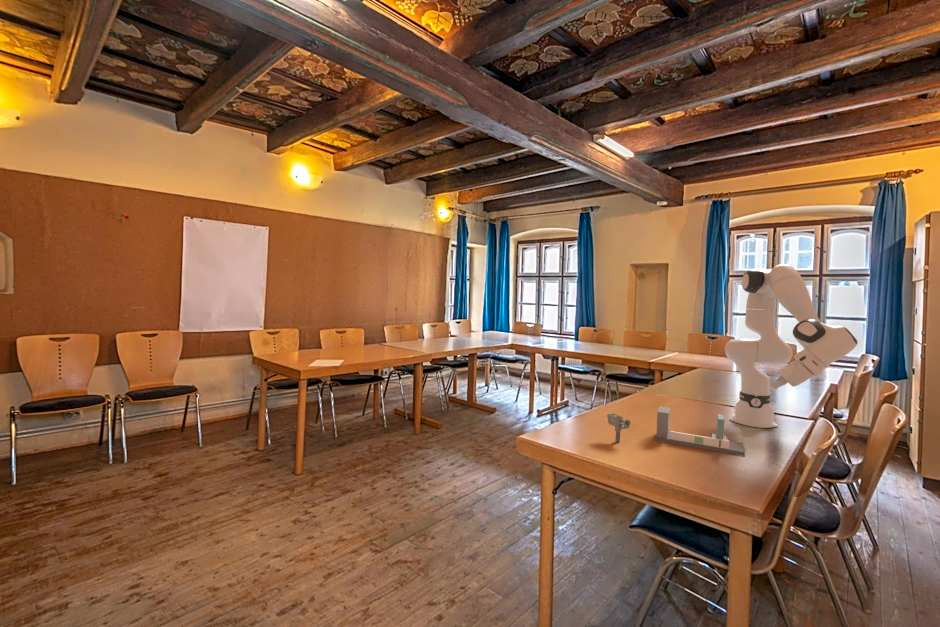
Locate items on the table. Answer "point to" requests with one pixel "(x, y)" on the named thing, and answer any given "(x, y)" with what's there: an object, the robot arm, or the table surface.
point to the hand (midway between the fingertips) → (773, 386)
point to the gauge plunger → (720, 428)
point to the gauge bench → (693, 437)
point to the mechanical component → (618, 424)
